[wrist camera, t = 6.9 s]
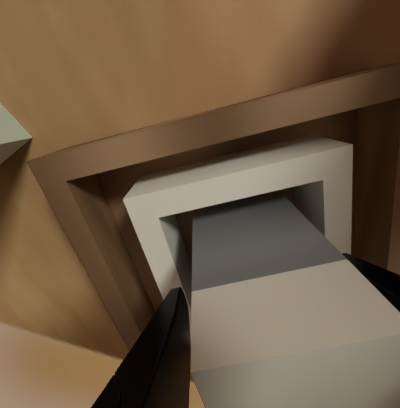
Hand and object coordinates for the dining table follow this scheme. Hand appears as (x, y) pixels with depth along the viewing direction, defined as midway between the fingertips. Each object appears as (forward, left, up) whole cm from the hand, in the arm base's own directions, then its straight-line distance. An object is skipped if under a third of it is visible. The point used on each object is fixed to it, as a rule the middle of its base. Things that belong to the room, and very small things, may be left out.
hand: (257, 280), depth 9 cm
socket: (0, 0, -4) cm, 4 cm away
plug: (0, 0, -4) cm, 4 cm away
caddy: (0, 0, -4) cm, 4 cm away
